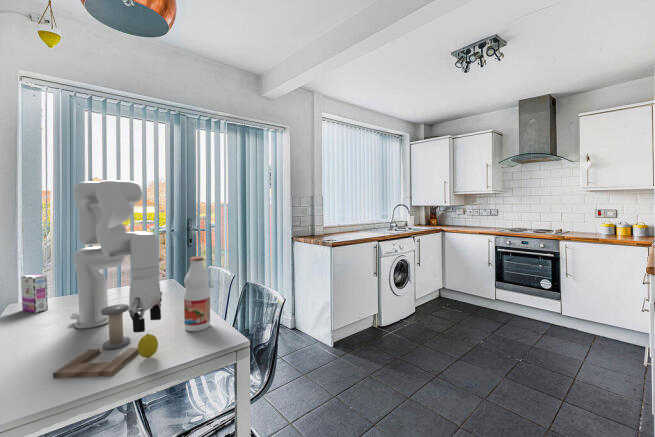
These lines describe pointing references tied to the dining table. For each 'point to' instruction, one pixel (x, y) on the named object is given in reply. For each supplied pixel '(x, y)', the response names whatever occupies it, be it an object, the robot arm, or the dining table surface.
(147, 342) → the lemon
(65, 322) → the dining table surface
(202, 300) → the fruit juice
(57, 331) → the dining table surface
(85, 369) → the notched board
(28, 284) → the candy bar box
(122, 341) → the spool
